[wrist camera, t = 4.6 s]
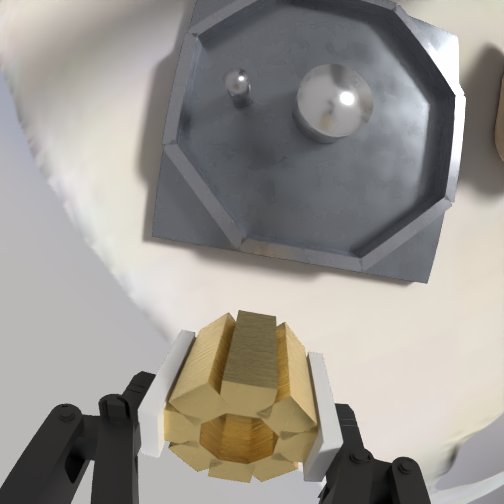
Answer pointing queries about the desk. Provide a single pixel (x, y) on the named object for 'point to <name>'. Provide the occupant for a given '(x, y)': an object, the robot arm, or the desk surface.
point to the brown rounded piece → (500, 124)
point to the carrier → (313, 134)
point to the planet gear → (243, 401)
